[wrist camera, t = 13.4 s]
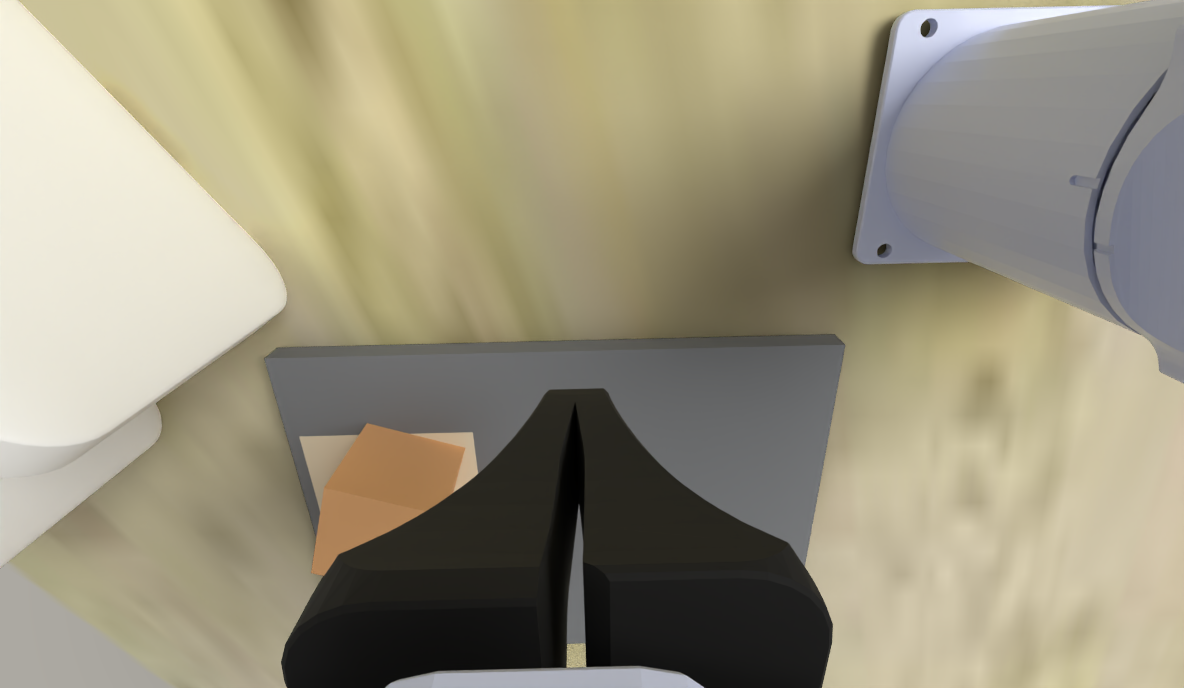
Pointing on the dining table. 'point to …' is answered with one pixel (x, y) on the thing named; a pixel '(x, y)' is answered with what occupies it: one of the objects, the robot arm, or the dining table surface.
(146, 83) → the dining table surface
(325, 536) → the plug block
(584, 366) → the grey rectangular board
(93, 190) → the cable organizer
